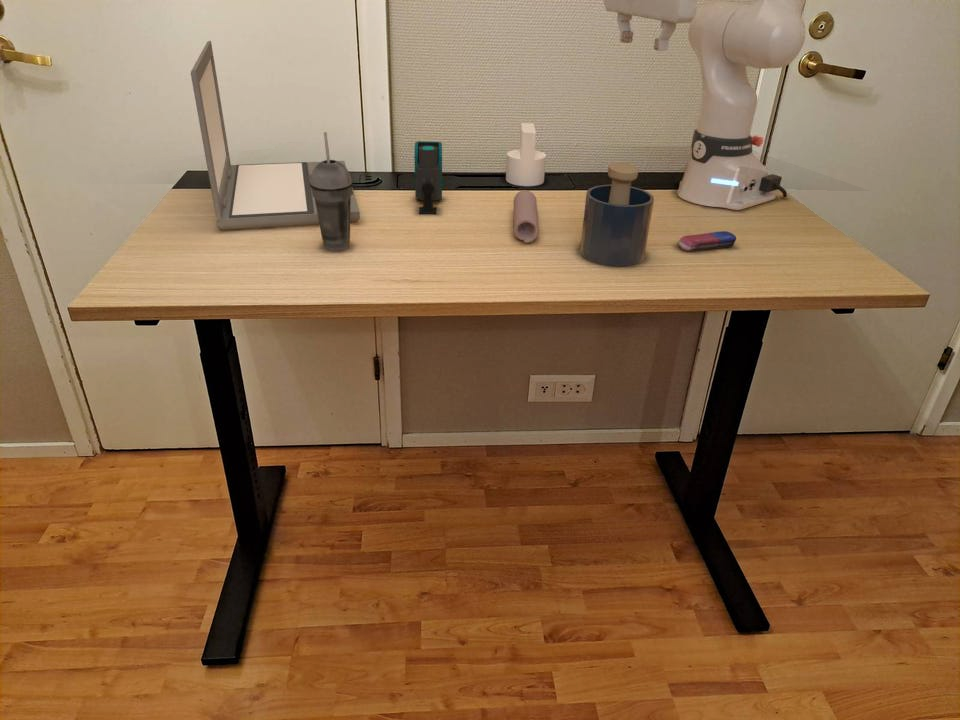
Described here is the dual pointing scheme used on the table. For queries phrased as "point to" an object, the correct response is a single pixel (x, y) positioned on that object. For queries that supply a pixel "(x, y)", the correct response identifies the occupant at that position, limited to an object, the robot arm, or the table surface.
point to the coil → (525, 216)
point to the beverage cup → (332, 201)
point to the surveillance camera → (428, 174)
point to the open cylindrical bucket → (615, 227)
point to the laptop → (250, 170)
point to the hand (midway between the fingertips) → (642, 46)
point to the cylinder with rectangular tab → (526, 160)
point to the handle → (621, 182)
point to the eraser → (707, 241)
